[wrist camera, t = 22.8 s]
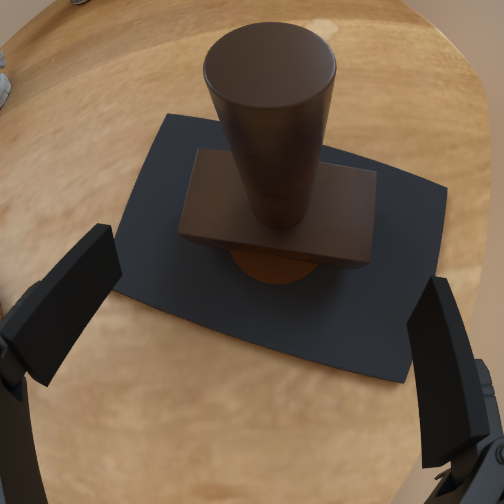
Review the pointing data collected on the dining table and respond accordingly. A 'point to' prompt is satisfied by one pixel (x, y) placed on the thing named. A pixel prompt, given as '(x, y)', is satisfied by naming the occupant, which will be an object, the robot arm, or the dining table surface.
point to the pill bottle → (77, 1)
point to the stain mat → (283, 264)
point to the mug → (3, 82)
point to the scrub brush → (277, 155)
